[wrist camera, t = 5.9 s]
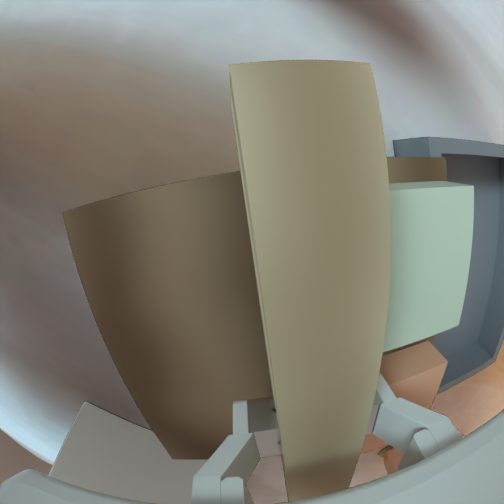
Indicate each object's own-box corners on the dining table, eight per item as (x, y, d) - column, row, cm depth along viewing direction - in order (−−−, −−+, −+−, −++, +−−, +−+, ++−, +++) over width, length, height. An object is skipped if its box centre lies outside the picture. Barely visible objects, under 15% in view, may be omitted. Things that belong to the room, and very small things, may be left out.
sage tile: (323, 335, 11) (338, 364, 9) (315, 190, 9) (334, 196, 7) (435, 305, 11) (458, 325, 9) (442, 180, 9) (473, 185, 8)
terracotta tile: (320, 438, 14) (328, 463, 12) (323, 371, 12) (335, 400, 10) (407, 411, 14) (419, 431, 12) (428, 340, 12) (448, 361, 10)
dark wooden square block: (181, 408, 18) (172, 459, 14) (111, 197, 14) (62, 212, 9) (382, 373, 19) (409, 416, 14) (390, 157, 14) (445, 157, 9)
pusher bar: (284, 480, 13) (293, 528, 9) (232, 113, 8) (229, 64, 4) (322, 473, 13) (335, 519, 9) (313, 106, 8) (370, 63, 4)
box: (384, 381, 19) (401, 409, 16) (392, 140, 14) (428, 136, 10) (474, 342, 19) (495, 361, 16) (495, 147, 14) (526, 149, 10)
